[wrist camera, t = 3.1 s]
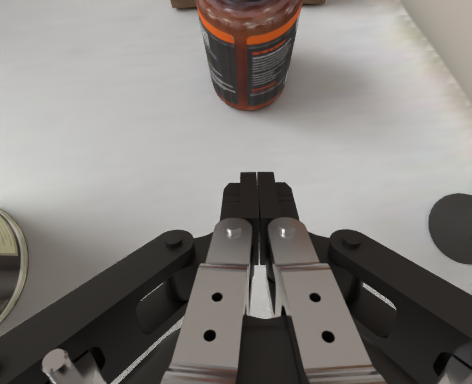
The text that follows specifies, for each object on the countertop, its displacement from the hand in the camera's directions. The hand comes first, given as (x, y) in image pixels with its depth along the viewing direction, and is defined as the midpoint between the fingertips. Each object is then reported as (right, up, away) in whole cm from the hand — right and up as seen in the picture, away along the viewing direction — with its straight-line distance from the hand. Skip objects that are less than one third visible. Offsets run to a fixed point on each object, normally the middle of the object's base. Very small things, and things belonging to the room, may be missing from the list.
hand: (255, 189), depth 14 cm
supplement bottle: (0, +9, +10) cm, 14 cm away
